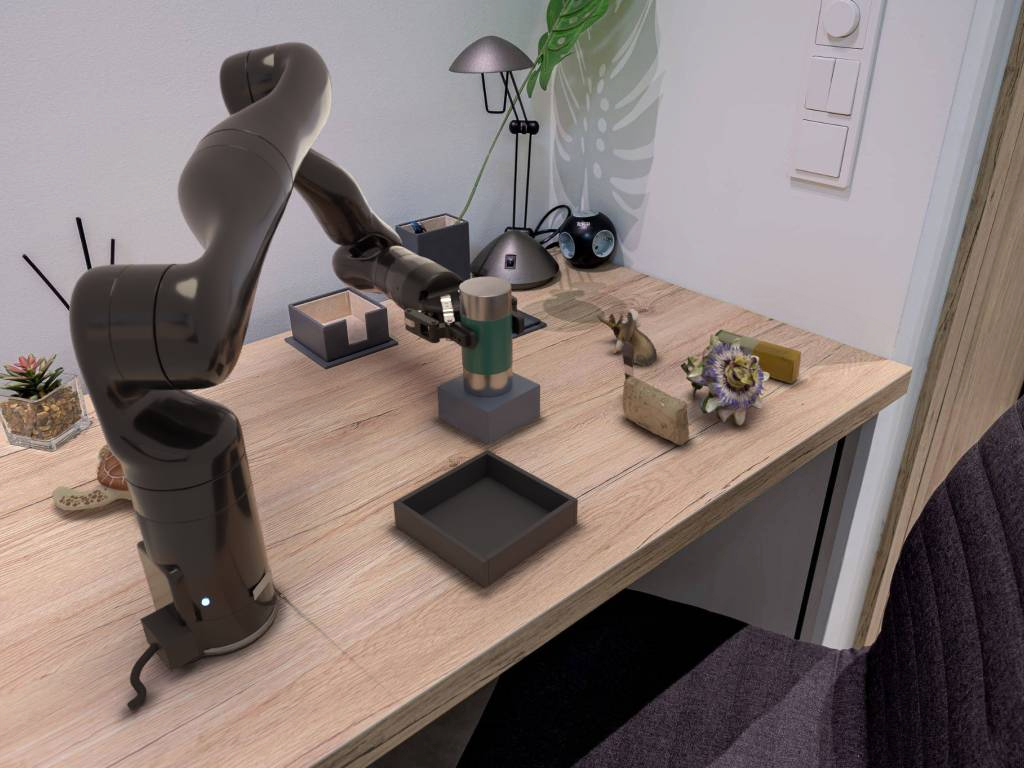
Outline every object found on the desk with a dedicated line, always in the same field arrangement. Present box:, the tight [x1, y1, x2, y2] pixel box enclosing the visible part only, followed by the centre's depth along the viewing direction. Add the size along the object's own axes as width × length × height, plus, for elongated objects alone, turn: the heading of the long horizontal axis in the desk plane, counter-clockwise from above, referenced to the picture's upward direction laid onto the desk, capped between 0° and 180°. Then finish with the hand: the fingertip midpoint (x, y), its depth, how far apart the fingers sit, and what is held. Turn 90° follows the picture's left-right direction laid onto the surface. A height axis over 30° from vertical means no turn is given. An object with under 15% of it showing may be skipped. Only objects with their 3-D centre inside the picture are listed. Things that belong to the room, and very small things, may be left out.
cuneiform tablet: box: [621, 353, 690, 446], centre depth 100 cm, size 7×4×12 cm
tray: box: [392, 449, 579, 589], centre depth 84 cm, size 13×13×4 cm
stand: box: [436, 371, 541, 446], centre depth 102 cm, size 9×9×5 cm
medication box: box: [713, 329, 802, 384], centre depth 113 cm, size 12×3×4 cm, turn 50°
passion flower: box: [680, 334, 770, 427], centre depth 103 cm, size 11×11×12 cm
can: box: [459, 276, 514, 397], centre depth 98 cm, size 6×6×13 cm
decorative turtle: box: [52, 444, 132, 511], centre depth 91 cm, size 18×17×5 cm
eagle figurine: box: [596, 308, 658, 367], centre depth 118 cm, size 8×7×9 cm
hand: (498, 334), depth 95 cm, fingers closed on can, 6 cm apart
